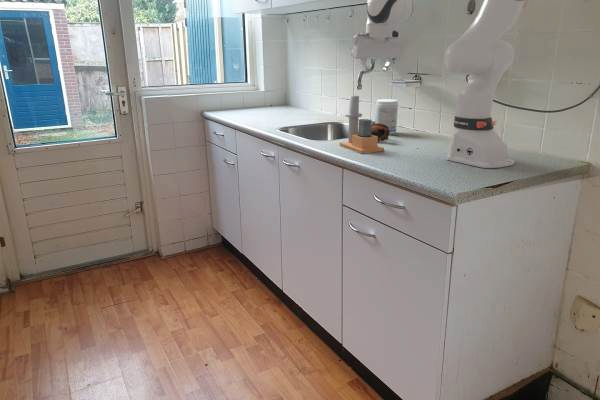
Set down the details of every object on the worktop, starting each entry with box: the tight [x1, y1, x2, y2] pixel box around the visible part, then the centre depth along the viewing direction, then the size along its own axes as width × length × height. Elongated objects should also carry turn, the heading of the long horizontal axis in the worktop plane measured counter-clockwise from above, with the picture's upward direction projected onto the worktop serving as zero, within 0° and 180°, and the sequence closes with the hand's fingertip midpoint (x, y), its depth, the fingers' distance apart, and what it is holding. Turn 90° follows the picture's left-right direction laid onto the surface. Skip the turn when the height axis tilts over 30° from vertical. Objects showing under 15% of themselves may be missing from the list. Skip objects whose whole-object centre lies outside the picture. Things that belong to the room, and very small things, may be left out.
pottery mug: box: [371, 122, 390, 144], centre depth 185 cm, size 12×10×8 cm
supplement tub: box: [374, 98, 399, 136], centre depth 200 cm, size 10×10×15 cm
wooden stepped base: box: [339, 95, 385, 154], centre depth 170 cm, size 17×10×19 cm, turn 24°
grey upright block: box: [358, 118, 373, 138], centre depth 169 cm, size 4×4×10 cm
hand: (375, 70), depth 175 cm, fingers open, 8 cm apart
